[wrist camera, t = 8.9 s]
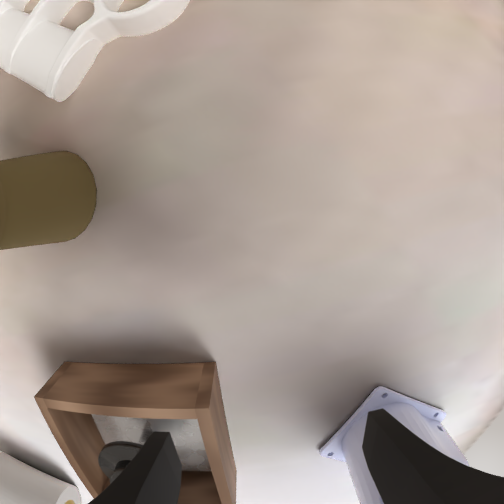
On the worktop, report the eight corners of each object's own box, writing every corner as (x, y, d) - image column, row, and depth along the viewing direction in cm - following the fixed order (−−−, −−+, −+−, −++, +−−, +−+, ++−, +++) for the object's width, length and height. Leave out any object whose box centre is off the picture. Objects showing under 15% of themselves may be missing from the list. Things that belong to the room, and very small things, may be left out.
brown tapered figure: (45, 255, 19) (-70, 311, 8) (16, 178, 18) (-104, 189, 7) (110, 218, 19) (-9, 260, 8) (78, 133, 17) (-48, 108, 7)
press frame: (215, 361, 21) (209, 408, 16) (236, 470, 23) (235, 514, 18) (64, 361, 21) (34, 396, 16) (111, 464, 23) (96, 501, 18)
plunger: (196, 383, 21) (182, 450, 14) (216, 464, 23) (211, 524, 16) (84, 381, 21) (47, 434, 14) (118, 459, 23) (98, 511, 16)
